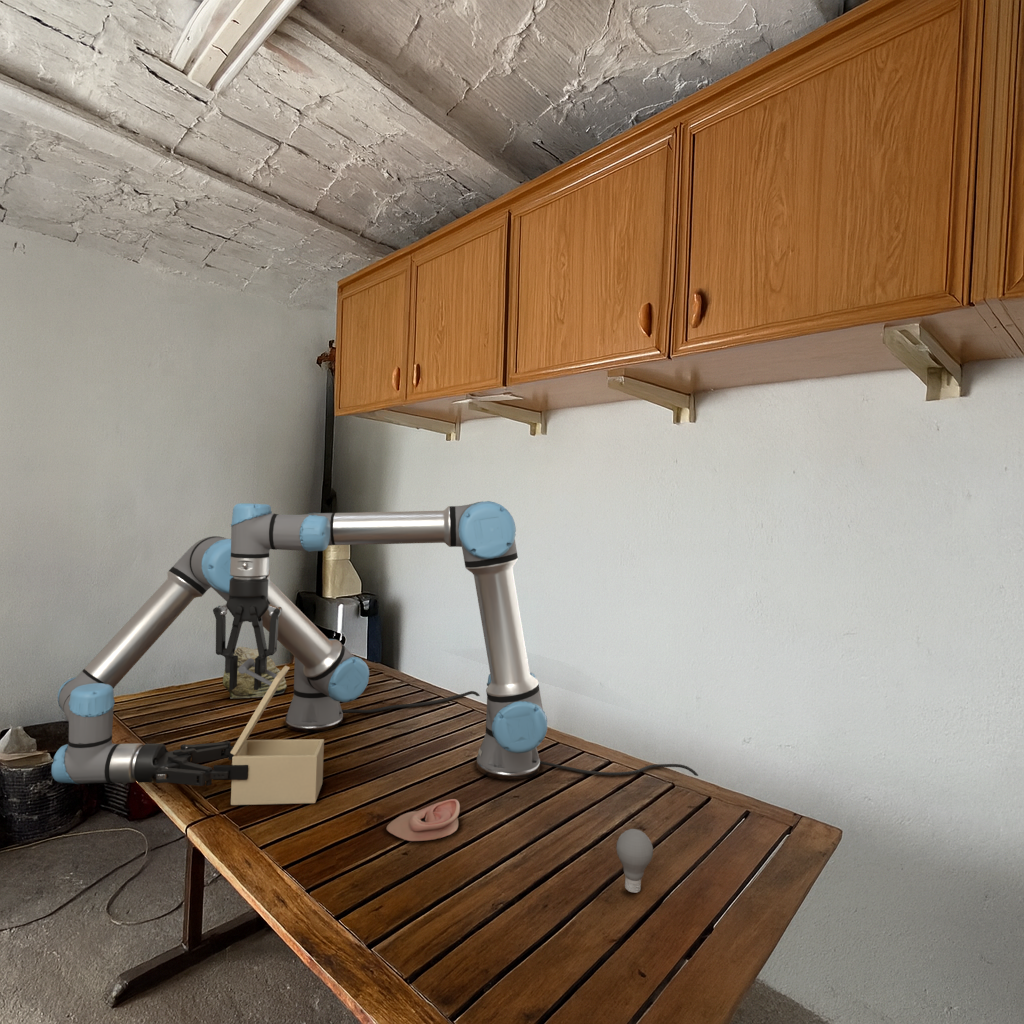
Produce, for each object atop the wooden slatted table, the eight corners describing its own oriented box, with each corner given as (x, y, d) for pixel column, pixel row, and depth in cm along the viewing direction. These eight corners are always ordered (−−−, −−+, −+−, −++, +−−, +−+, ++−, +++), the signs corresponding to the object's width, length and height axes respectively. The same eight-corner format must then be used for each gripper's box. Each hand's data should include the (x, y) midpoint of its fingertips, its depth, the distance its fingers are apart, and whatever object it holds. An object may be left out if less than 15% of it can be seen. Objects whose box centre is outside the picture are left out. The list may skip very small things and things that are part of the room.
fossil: (218, 695, 195) (220, 647, 195) (278, 685, 208) (279, 640, 207) (228, 703, 189) (230, 653, 188) (289, 692, 201) (290, 645, 201)
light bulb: (610, 879, 108) (613, 822, 108) (644, 879, 109) (647, 822, 109) (619, 902, 102) (622, 840, 102) (655, 901, 103) (658, 840, 103)
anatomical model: (380, 815, 119) (403, 788, 130) (379, 836, 119) (402, 808, 130) (448, 826, 116) (465, 797, 127) (447, 847, 116) (464, 817, 127)
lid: (289, 667, 138) (254, 648, 137) (280, 679, 129) (242, 659, 128) (247, 738, 138) (211, 720, 137) (234, 755, 128) (196, 736, 127)
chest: (322, 783, 140) (324, 739, 140) (315, 803, 131) (316, 756, 131) (243, 784, 138) (245, 739, 138) (230, 805, 129) (232, 757, 128)
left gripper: (161, 759, 141) (266, 758, 144) (113, 806, 120) (238, 804, 123) (163, 725, 141) (267, 725, 144) (115, 767, 120) (239, 766, 123)
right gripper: (199, 578, 128) (195, 693, 128) (288, 580, 130) (284, 693, 130) (211, 573, 135) (208, 682, 135) (295, 576, 137) (291, 683, 138)
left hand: (254, 762), depth 133 cm, fingers closed on chest, 9 cm apart
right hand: (245, 687), depth 133 cm, fingers open, 4 cm apart
